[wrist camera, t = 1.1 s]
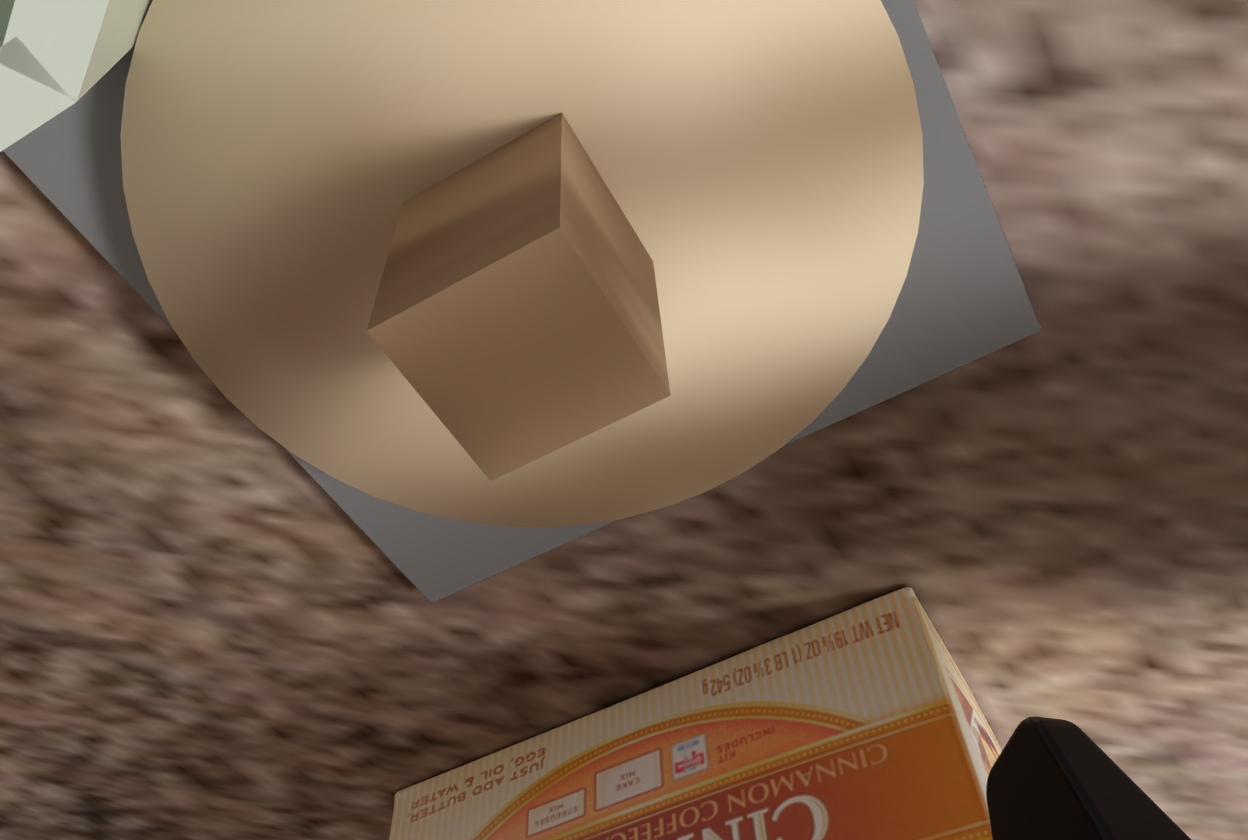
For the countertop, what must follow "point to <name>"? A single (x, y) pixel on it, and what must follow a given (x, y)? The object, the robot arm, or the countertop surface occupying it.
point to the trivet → (471, 552)
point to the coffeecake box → (748, 751)
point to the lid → (525, 233)
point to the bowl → (58, 55)
